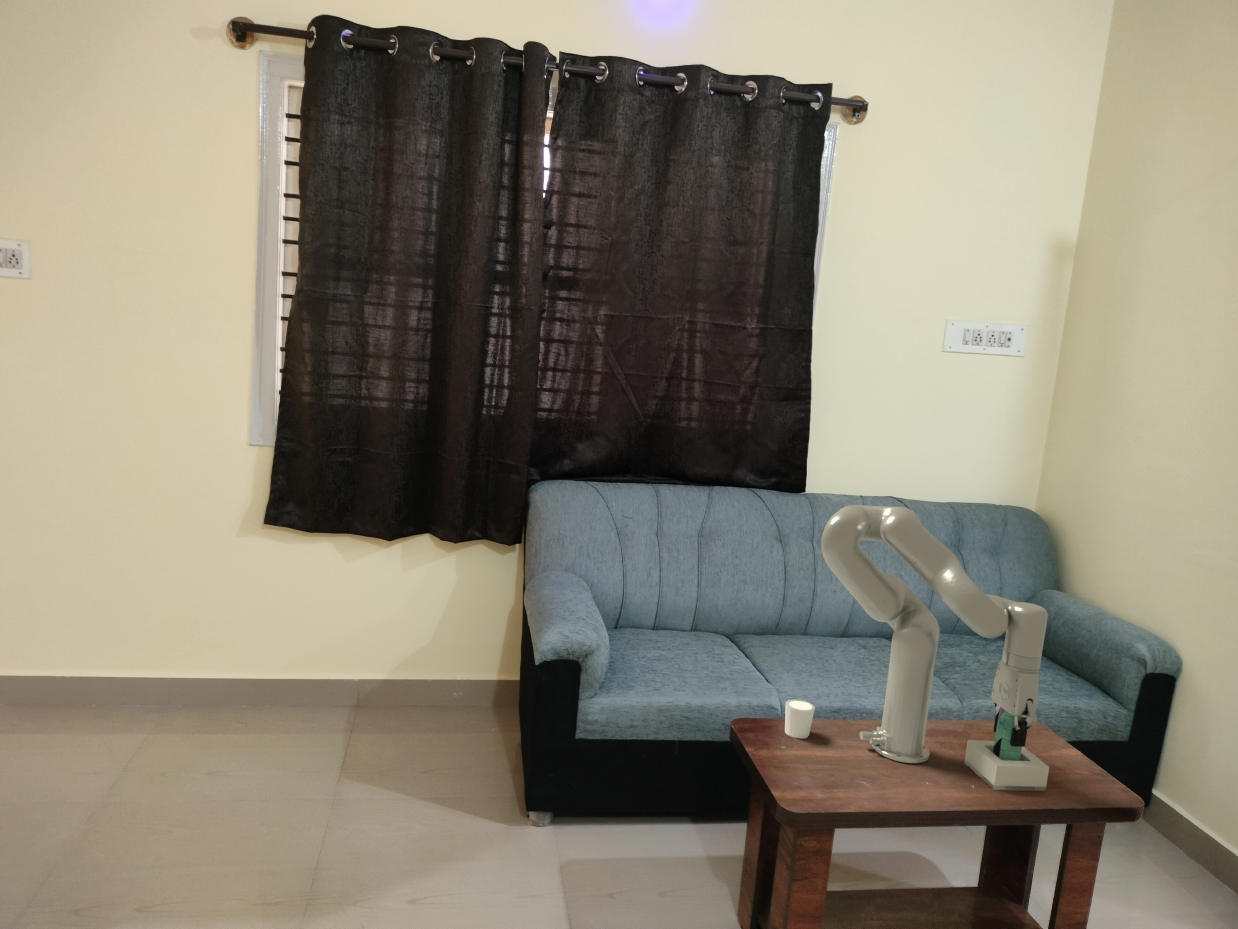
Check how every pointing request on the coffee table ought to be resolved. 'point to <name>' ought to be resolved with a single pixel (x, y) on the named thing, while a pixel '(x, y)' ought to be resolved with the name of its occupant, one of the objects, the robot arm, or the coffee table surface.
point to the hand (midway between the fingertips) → (1008, 738)
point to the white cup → (798, 718)
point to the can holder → (1006, 768)
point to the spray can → (1006, 737)
